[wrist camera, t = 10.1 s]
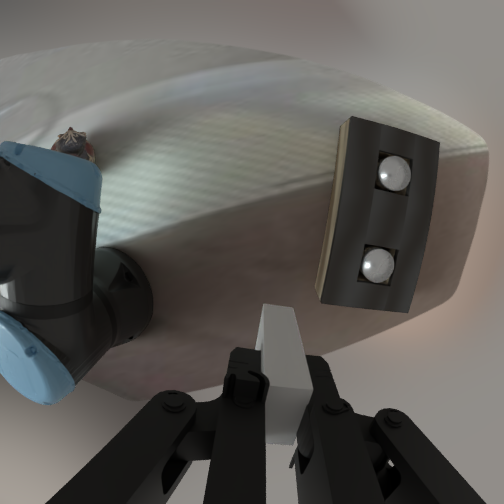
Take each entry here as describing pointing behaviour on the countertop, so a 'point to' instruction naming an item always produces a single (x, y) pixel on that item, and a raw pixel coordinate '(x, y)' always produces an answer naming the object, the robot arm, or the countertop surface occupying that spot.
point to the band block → (376, 217)
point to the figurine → (74, 145)
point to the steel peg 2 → (376, 263)
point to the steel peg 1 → (392, 174)
